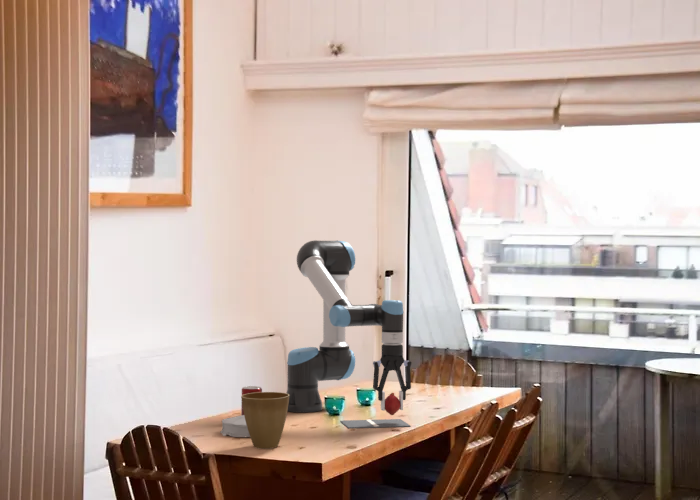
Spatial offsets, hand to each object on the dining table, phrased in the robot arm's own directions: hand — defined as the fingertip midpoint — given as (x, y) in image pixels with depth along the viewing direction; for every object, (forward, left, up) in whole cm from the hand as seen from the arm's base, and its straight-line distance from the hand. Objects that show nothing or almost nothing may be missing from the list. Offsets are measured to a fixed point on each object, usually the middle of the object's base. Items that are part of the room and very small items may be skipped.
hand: (391, 409), depth 353 cm
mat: (-6, 0, -5) cm, 8 cm away
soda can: (-48, +13, -5) cm, 50 cm away
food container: (-51, -9, -6) cm, 52 cm away
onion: (0, 0, -2) cm, 2 cm away
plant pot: (-49, -34, -5) cm, 60 cm away
